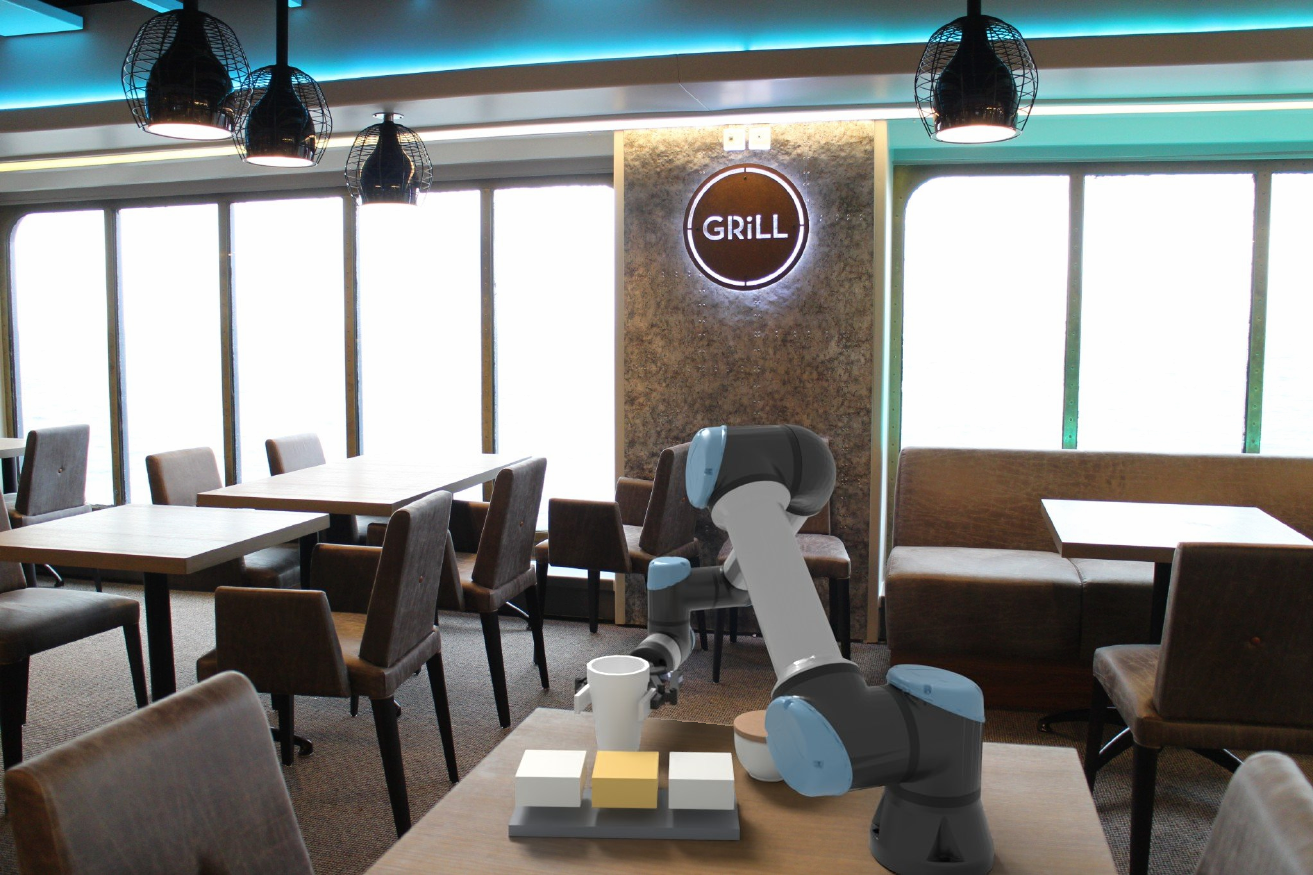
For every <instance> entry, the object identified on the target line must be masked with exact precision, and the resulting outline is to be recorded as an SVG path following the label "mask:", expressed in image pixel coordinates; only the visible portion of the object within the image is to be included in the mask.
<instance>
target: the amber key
mask: <svg viewBox="0 0 1313 875" xmlns="http://www.w3.org/2000/svg"><path fill="white" fill-rule="evenodd" d="M659 753H660V752H659V751H598V750H597V752H596V756H595V761H594V766H593V771H592V773H591V774H592V775H591V788H592V807H609V808H657V797H658V789H659V781H660V780H659V776H660V775H659V774H660V773H659V772H660V771H659V768H660V767H659V762H660V758H659V757H660V754H659Z"/></svg>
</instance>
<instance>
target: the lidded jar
mask: <svg viewBox="0 0 1313 875" xmlns="http://www.w3.org/2000/svg"><path fill="white" fill-rule="evenodd" d="M766 711H767V709H761V710H760V709H757V710H751V711H747V712H744V713H741V714H739V715H738V716H736V717H735V719H733V732H734V733H733V734H734V736H733V737H734V747H735V752H736V756H737V758H738V761H739V763H740V764H741V766H742V767H743V768H744V769H745V771H747V772H748V775H749V777H751V778H753V779H755V780H758V781H761V782H766V783H767V782H770V783H771V782H772V783H773V782H775V783H776V782H780V781H785V780H784V779H783V778H782V776H781V775H780V773H779V772H778V770H777V768H776V766H775V764H774V762H773V760H772V757H771V755H770V752H769V749H768V745H767V741H766V736H767V735H768V733H767V731H766V730H765V715H766Z"/></svg>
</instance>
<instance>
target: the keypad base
mask: <svg viewBox="0 0 1313 875" xmlns="http://www.w3.org/2000/svg"><path fill="white" fill-rule="evenodd" d="M740 830H741V828H740V820H739V811H738V803H737V793H736V790H734V810H727V809H669V789H661V788H660V789H659V788H658V797H657V808H609V807H592V787H591V788H589V787H585V788H584V792H583V797H582V801H581V805H580V807H550V806H515V807H514V810H513V812H512V815H511V818H510V820H509V823H508V837H530V838H531V837H533V838H534V837H539V838H545V837H546V838H586V839H587V838H588V839H589V838H590V839H591V838H595V839H599V838H601V839H603V838H605V839H611V838H612V839H646V840H647V839H648V840H649V839H650V840H657V839H658V840H704V841H705V840H706V841H707V840H709V841H741V840H740V834H741V833H740V832H741V831H740Z"/></svg>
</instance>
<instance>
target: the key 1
mask: <svg viewBox="0 0 1313 875" xmlns="http://www.w3.org/2000/svg"><path fill="white" fill-rule="evenodd" d="M587 752H588V751H587V750H567V749H566V750H560V749H558V750H557V749H552V750H551V749H525V751H524V753H523V755H522V758H521V761H520V763H519V765H518V768H517V771H516V773H515V776H514V785H515V786H514V788H515V790H514V791H515V792H514V793H515V795H514V796H515V803H514V805H515V806H550V807H580V805H581V801H582V797H583V792H584V788H586V787H585V786H586V782H587V779H588V778H587V775H588V774H587V771H588V770H587V768H588V767H587V764H588V763H587V760H588V759H587V757H588V756H587Z"/></svg>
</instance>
